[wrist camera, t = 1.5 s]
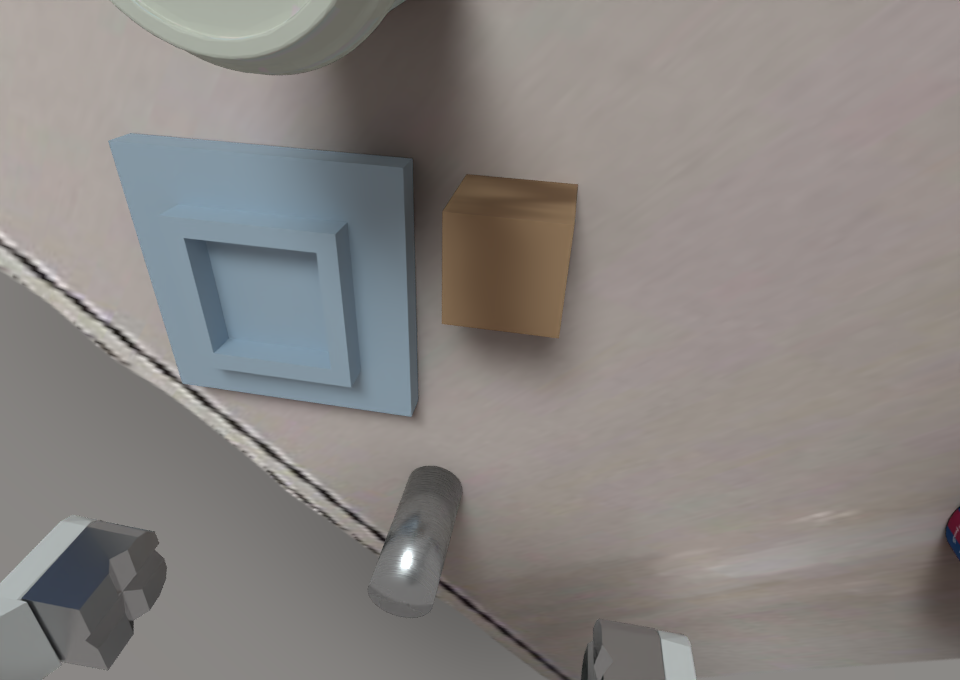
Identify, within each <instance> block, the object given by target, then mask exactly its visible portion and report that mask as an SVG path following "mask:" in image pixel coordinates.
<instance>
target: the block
mask: <svg viewBox="0 0 960 680" xmlns="http://www.w3.org/2000/svg"><path fill="white" fill-rule="evenodd" d="M577 188H578V184H567V183H556V182H545V181H535V180H524V179H513V178H502V177H491V176H480V175H469V174H467V175H466V176H465V178H464V179H463V181H462V182H461V184H460V185H459V187H458V188H457V190H456V191H455V193H454V195H453V196H452V198H451V199H450V201H449V202H448V204H447V205H446V207H445V208H444V210H443V211H442V324H447V325H455V326H463V327H471V328H479V329H487V330H496V331H504V332H512V333H520V334H528V335H536V336H544V337H552V338H559V333H560V326H561V319H562V311H563V304H564V297H565V290H566V282H567V275H568V268H569V260H570V253H571V246H572V239H573V231H574V224H575V212H576V200H577Z"/></svg>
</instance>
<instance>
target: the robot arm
mask: <svg viewBox="0 0 960 680" xmlns="http://www.w3.org/2000/svg"><path fill="white" fill-rule="evenodd" d="M158 544H159V542H158V539H157V536H156V534H155V532H154V531H150V530H144V529H140V528H134V527H129V526H124V525H119V524H114V523H109V522H104V521H102V520H97V519H92V518H86V517H80V516H76V515H71V516H69V517H68V518H66V519H64V520H62V521H61V522H59V523H58V524H57V525H56V526H55V528H54V529H53V530H52V531H51V532H50V533H49V534H48V535H47V536H46V537H45V538H44V539H43V540H42V541H41V542H40V543H39V544H38V545H37V546H36V547H35V548H34V549H33V550H32V551H31V552H30V553H29V554H28V555H27V556H26V557H25V558H24V559H23V560H22V561H21V562H20V563H19V564H18V565H17V566H16V567H15V568H14V569H13V571H12V572H11V573H10V574H9V575H8V576H7V577H6V578H5V579H4V580H3V581H2V582H1V583H0V680H42V679H43V678H45V677H46V676H48V675H49V674H50V673H52V672H53V671H54V670H56V669H57V668H59V667H60V666H61V665H62V663H61V662H65V663H70V664H75V665H81V666H86V667H92V668H97V669H103V670H109V669H110V667H111V666H112V664H113V663H114V661H115V660H116V658H117V657H118V656H119V654H120V653H121V651H122V650H123V648H124V647H125V646H126V644H127V643H128V641H129V640H130V638H131V637H132V636H133V634H134V620H135V619H137V618H138V617H140V616H142V615H143V614H145V613H146V612H148V611H149V610H150V609H151V608H152V606H153V605H154V603H155V602H156V600H157V598H158V597H159V596H160V593H161V590H162V588H163V585H164V583H165V580H166V571H167V566H166V563H165V560H164V558H163V557H162V556H161V555H160V554H159V553H158V552H156V551H155V548H156V547H157V545H158ZM581 680H697V677H696V671H695V665H694V660H693V654H692V648H691V643H690V642H689V640H688V638H687V636H685V635H684V634H679V633H673V632H668V631H662V630H657V629H655V628H650V627H644V626H639V625H633V624H627V623H622V622H616V621H610V620H605V619H598V620H597V621H596V623H595V625H594V628H593V641H592V642H590V643H588V644H587V648H586V651H585V654H584V659H583V666H582V675H581Z"/></svg>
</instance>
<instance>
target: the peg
mask: <svg viewBox="0 0 960 680" xmlns="http://www.w3.org/2000/svg"><path fill="white" fill-rule="evenodd" d="M461 496H462V485H461V482H460V481H459V479H458V478H457V477H456V476H455V475H454V474H453V473H451V472H450V471H448V470H446V469H443V468H440V467H436V466H423V467H420V468H417V469H415V470H414V471H413V472H412V473H411V474H410V476H409V479H408V482H407V484H406V487H405V490H404V492H403V495H402V498H401V500H400V503H399V506H398V508H397V511H396V514H395V516H394V519H393V522H392V524H391V527H390V530H389V532H388V535H387V538H386V541H385V543H384V546H383V549H382V551H381V554H380V557H379V560H378V562H377V565H376V567H375V570H374V573H373V576H372V578H371V581H370V583H369V586H368V594H369V597H370V598H371V600H372V601H373V602H374V603H375V604H376V605H377V606H378V607H379V608H381V609H382V610H384V611H386V612H388V613H391V614H393V615H396V616H400V617H407V618H415V617H421V616H424V615H426V614H427V613H429V612H430V611H431V609H432V607H433V603H434V600H435V596H436V592H437V588H438V584H439V580H440V576H441V573H442V569H443V565H444V561H445V557H446V553H447V549H448V546H449V542H450V538H451V534H452V530H453V526H454V522H455V519H456V515H457V511H458V507H459V503H460V499H461Z"/></svg>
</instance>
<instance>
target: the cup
mask: <svg viewBox="0 0 960 680" xmlns="http://www.w3.org/2000/svg"><path fill="white" fill-rule="evenodd" d="M946 537H947V541H948V543H949V545H950V546H951V548H952V550H953V551H954V553H955V554H956V556H957V558H958V559H959V561H960V507H959V508H958V509H957V510H956V511H955V512H954V514H953V515H952V516H951V518H950V520H949V522H948V525H947V527H946Z"/></svg>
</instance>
